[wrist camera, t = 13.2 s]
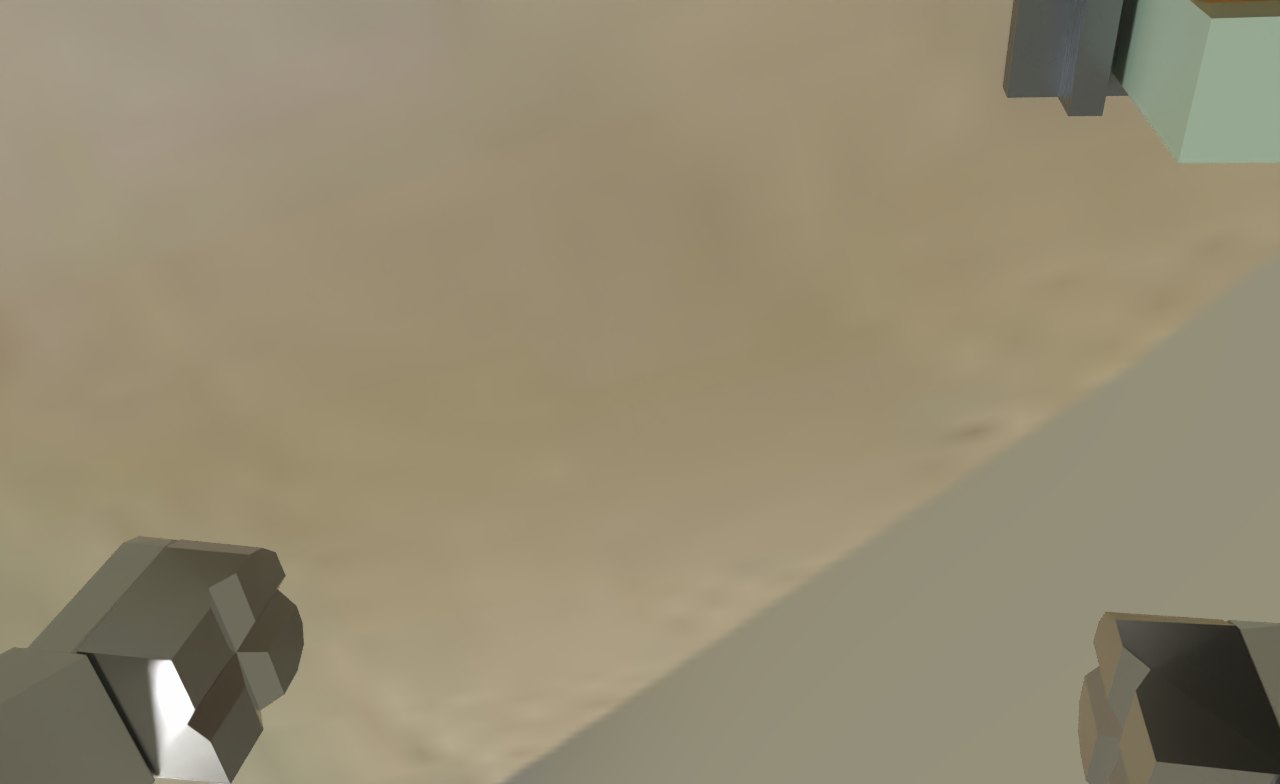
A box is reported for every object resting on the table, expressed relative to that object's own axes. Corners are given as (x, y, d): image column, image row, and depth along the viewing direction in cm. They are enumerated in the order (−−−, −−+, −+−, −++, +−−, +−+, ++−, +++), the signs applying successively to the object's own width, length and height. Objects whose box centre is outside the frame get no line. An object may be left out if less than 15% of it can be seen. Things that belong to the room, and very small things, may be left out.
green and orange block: (1234, 71, 32) (1333, 161, 25) (1113, 74, 32) (1178, 163, 26) (1270, -69, 29) (1388, -10, 23) (1138, -63, 30) (1216, -4, 23)
